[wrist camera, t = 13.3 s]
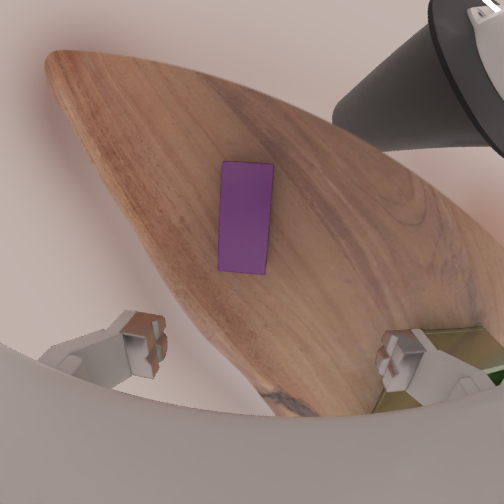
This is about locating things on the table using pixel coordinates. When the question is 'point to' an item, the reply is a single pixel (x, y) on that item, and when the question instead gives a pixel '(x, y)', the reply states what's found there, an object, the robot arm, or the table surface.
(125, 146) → the table surface
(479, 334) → the green metal box
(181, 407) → the robot arm
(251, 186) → the purple rectangular block
